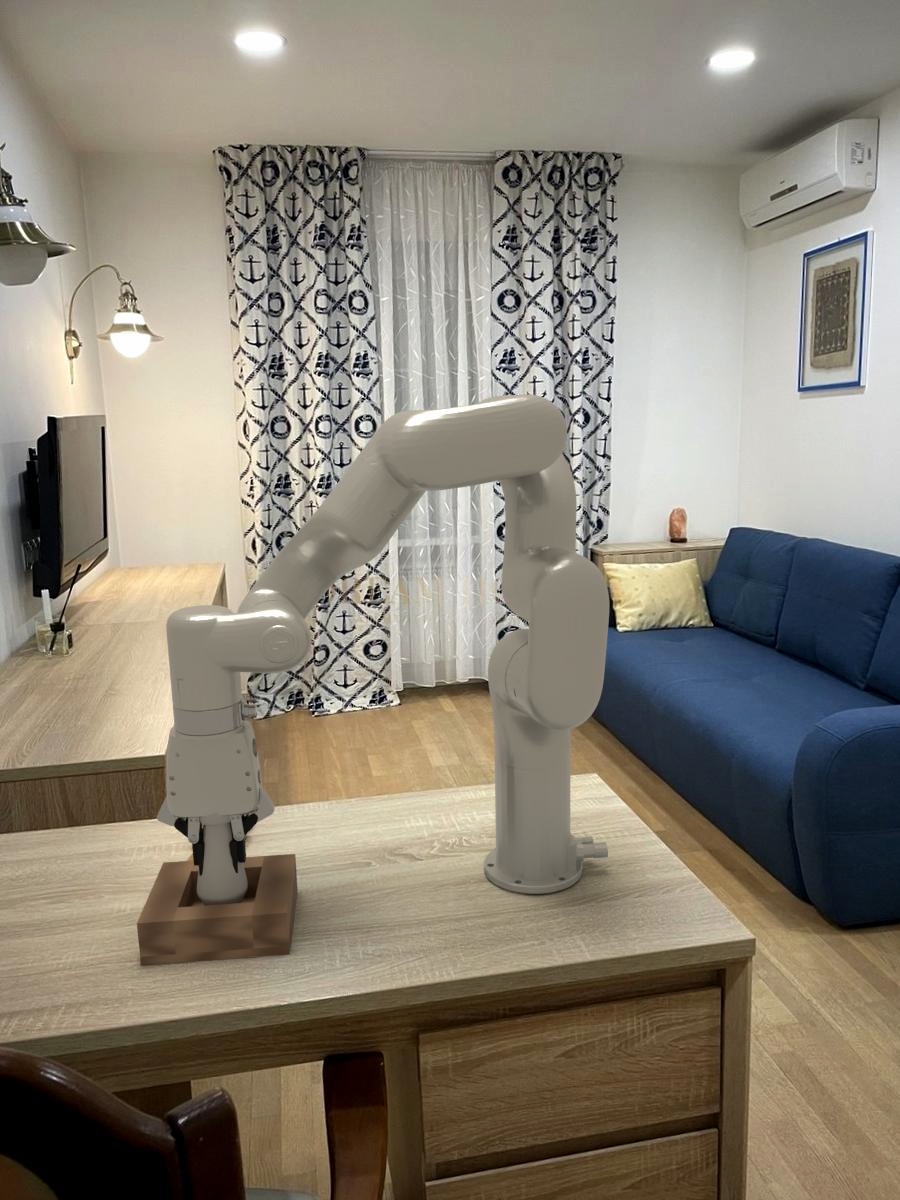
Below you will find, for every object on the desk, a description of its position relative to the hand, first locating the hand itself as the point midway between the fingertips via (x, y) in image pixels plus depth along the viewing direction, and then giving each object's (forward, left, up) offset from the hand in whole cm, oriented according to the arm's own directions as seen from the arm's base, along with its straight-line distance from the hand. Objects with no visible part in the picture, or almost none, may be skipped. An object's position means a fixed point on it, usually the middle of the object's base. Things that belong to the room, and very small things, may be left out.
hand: (220, 867), depth 108 cm
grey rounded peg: (0, 0, -5) cm, 5 cm away
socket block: (0, 0, -7) cm, 7 cm away
